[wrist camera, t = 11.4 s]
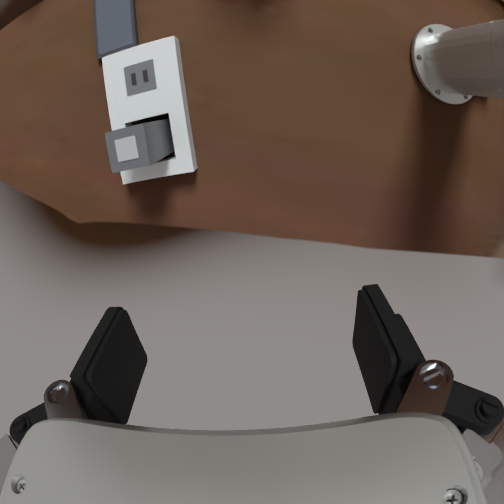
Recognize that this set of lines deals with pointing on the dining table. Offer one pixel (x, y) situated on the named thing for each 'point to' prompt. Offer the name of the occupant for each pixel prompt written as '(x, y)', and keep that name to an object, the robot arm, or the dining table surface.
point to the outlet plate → (151, 100)
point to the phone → (114, 26)
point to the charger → (139, 145)
